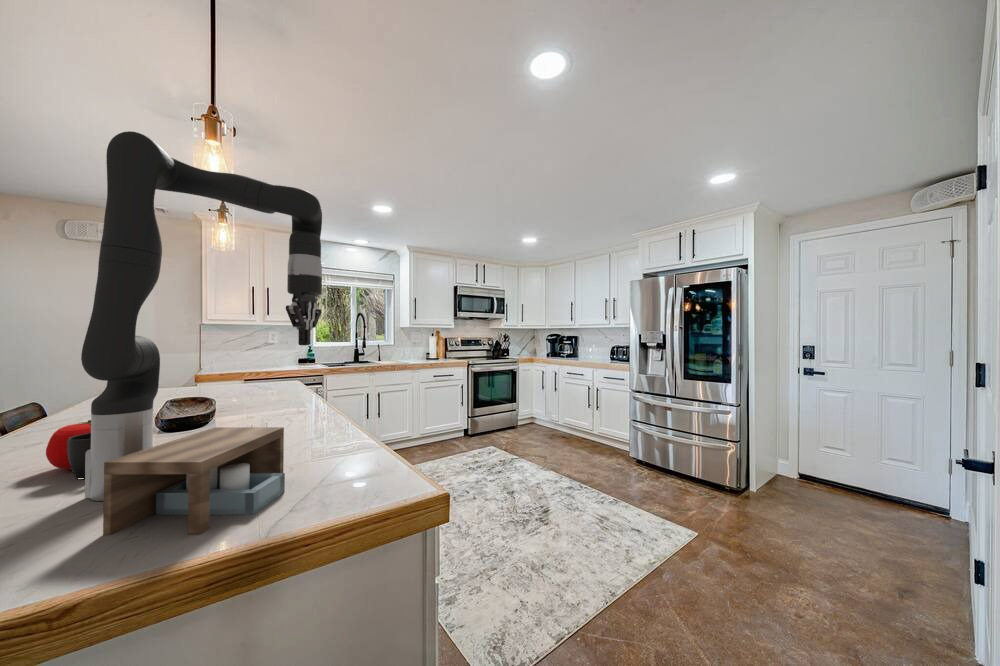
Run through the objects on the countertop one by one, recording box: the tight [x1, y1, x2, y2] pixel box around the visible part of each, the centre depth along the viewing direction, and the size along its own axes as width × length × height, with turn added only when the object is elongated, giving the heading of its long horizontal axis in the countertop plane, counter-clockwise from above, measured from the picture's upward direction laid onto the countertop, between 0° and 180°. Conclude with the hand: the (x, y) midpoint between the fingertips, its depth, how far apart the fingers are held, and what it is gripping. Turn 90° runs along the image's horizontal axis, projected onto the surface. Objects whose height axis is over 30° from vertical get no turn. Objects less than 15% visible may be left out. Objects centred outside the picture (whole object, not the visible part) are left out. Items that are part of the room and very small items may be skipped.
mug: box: [67, 433, 91, 479], centre depth 87 cm, size 8×12×10 cm
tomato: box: [45, 419, 91, 470], centre depth 94 cm, size 13×14×12 cm
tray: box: [155, 463, 286, 516], centre depth 73 cm, size 18×10×7 cm, turn 91°
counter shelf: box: [102, 426, 285, 536], centre depth 73 cm, size 16×24×12 cm, turn 1°
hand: (304, 345), depth 91 cm, fingers closed
